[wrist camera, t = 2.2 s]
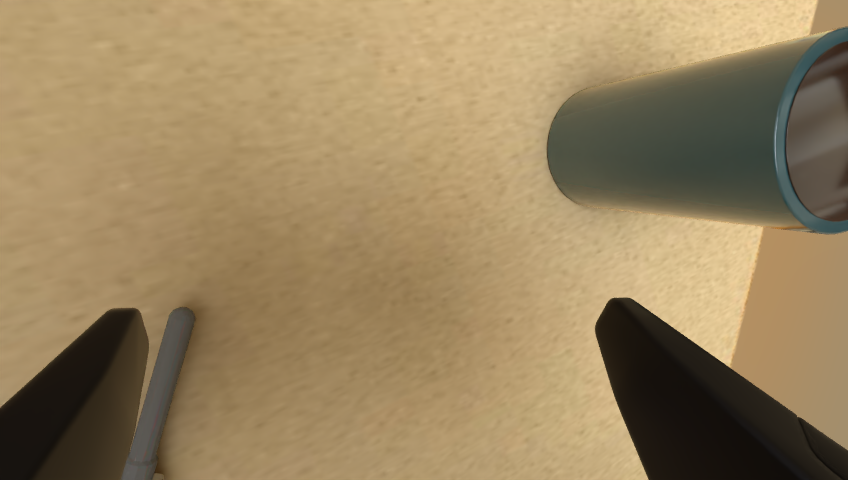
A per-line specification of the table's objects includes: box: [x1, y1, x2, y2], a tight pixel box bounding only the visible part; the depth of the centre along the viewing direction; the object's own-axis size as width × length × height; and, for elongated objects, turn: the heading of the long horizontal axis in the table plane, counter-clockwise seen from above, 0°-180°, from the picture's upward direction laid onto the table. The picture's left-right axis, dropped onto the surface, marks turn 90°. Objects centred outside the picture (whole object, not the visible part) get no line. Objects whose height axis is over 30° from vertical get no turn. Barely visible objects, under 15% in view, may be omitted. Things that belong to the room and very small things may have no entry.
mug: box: [547, 26, 848, 234], centre depth 22 cm, size 10×7×12 cm
